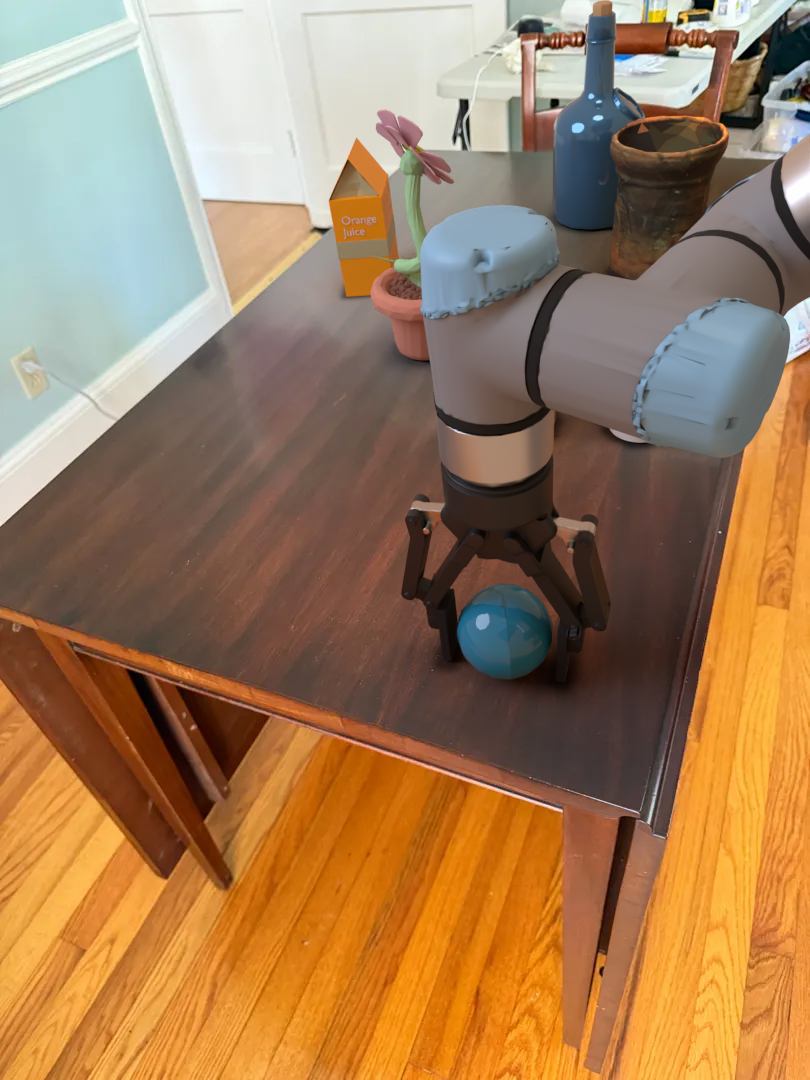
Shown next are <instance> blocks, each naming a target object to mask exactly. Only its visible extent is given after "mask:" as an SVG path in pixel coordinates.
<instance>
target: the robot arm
mask: <svg viewBox="0 0 810 1080" xmlns="http://www.w3.org/2000/svg"><path fill="white" fill-rule="evenodd" d="M560 254H561V252H560V248H559V245H558V235H557V230H556V228H555V225H554V223H553V222H552V221H551V220H550V219H549V218H548V217H546V216H545V215H543V214H539V213H538V212H537V211H535V210H534V209H533V208H530V207H524V206H519V205H511V204H493V205H483V206H478V207H473V208H469V209H465V210H462V211H459V212H456V213H454V214H451V215H449V216H447V217H446V218H445V219H444V220H442V221H441V222H439V223H437V224H435V225H434V226H433V227H432V228H431V229H430V230H429V231H428V233H427V235H426V237H425V238H424V241H423V243H422V246H421V252H420V263H421V286H422V302H421V306H420V309H421V313H422V316H423V320H424V326H425V333H426V339H427V346H428V352H429V358H430V360H429V365H430V371H431V378H432V385H433V386H432V387H433V392H432V393H433V400H434V401H433V402H434V414H435V415H434V416H435V424H436V435H437V436H436V437H437V444H438V445H437V447H438V456H439V459H440V472H441V480H442V491H443V497H444V502H431V500H430V498H429V496H427V495H426V494H423V493H418V494H416V495H415V496H414V498H413V500H412V502H411V504H410V507H409V509H408V511H407V513H406V515H405V517H404V522H405V525H406V528H407V532H408V535H409V542H408V548H407V553H406V559H405V566H404V573H403V578H402V583H401V584H402V585H401V591H400V595H401V597H402V599H405V600H407V601H413V600H415V599H417V600H419V601H421V602H422V605H423V606H424V607H425V611H426V617H427V618H426V619H427V624H428V626H429V627H430V629H434V630H438V632H439V641H440V648H441V654H442V660H443V661H447V662H452V661H453V658H454V655H455V653H456V650H457V647H458V644H459V642H458V638H457V627H458V620H459V618H458V612H457V611H458V610H457V603H456V594H455V588H451V587H452V586H453V585H454V583H455V581H456V580H457V578H458V577H459V576H460V574H461V573H462V571H463V570H464V569H465V568H467V566H468V565H469V564H470V562H471V561H472V560H473V558H474V557H475V555H476V557H477V559H481V560H500V561H503V562H505V563H509V564H516V565H518V566H519V567H520V569H521V571H522V572H523V574H524V575H525V576H526V577H527V578H532V580H533V581H534V583H535V584H536V585H537V587H538V588H539V590H540V591H541V593H542V595H543V596H544V597H545V598H546V600H547V602H548V603H549V604H550V606H551V607H552V609H553V610H554V612H555V613H556V614H557V616H558V618H559V621H558V622H559V623H558V626H557V630H556V654H555V655H556V656H555V657H556V658H555V661H556V662H555V682H559V683H564V684H565V683H566V678H567V674H568V670H569V665H570V661H571V653H572V654H581V653H582V651H583V647H584V641H585V636H586V629H588V628H591V629H592V630H594V631H595V632H604V631H606V630H607V628H608V623H609V618H610V612H611V607H612V601H611V598H610V597H611V596H610V593H609V590H608V587H607V583H606V578H605V575H604V570H603V567H602V563H601V559H600V556H599V552H598V548H597V544H596V541H595V539H596V534H597V529H598V525H599V518H598V517H597V516H596V515H593V514H590V513H587V514H584V515H582V516H581V518H580V520H576V519H572V518H571V519H570V518H566V517H561V515H560V514H559V512H558V510H557V509H556V507H555V505H554V455H553V451H554V447H555V446H554V445H555V424H554V410H555V411H556V412H558V413H562V414H564V415H565V414H566V415H568V416H570V417H574V418H577V419H580V420H582V421H586V422H588V423H592V424H595V425H598V426H601V427H603V428H607V429H609V428H610V429H613V430H616V431H619V432H622V433H625V434H628V435H631V436H634V437H637V438H640V439H643V440H645V442H644V443H646V444H651V445H653V446H655V447H657V448H660V447H664V448H667V449H668V448H674V449H679V450H682V451H685V452H691V453H695V454H698V455H703V456H706V457H710V458H714V459H724V458H725V459H727V458H729V457H730V458H731V457H732V456H736V455H737V454H739V453H740V452H742V451H743V450H744V449H746V447H747V446H749V444H750V443H751V442H752V441H753V439H754V438H755V436H756V435H757V434H758V432H759V430H760V429H761V426H762V424H763V421H764V419H765V416H766V414H767V413H768V412H769V410H770V408H771V406H772V404H773V401H774V399H775V396H776V394H777V391H778V389H779V386H780V383H781V380H782V377H783V374H784V371H785V368H786V363H787V359H788V356H789V350H790V343H791V329H790V326H789V323H788V321H787V319H786V318H785V316H786V315H787V314H788V312H789V311H791V310H792V309H793V308H795V307H796V306H797V305H799V304H801V303H802V302H803V301H805V300H807V299H809V298H810V133H808V134H807V135H806V136H804V137H803V138H802V139H800V140H799V141H798V142H796V143H795V144H794V145H793V146H792V147H790V148H789V149H788V151H787V152H786V153H784V154H783V155H782V156H780V157H779V158H777V159H775V160H774V161H773V162H771V163H769V164H767V166H766V167H764V168H762V170H760V171H759V172H756V173H754V174H752V175H750V176H748V177H747V178H745V179H742V180H741V181H739V182H737V183H736V184H735V185H733V186H732V187H730V188H729V189H728V190H727V191H725V192H724V193H723V194H722V195H720V196H719V198H717V199H716V200H715V201H713V202H712V204H711V205H709V207H707V210H706V212H705V214H704V216H703V217H702V218H701V219H700V220H699V221H698V222H697V223H696V224H695V225H694V226H693V227H692V228H691V229H690V230H689V231H688V232H687V233H686V234H685V235H684V236H683V237H682V238H681V239H680V240H679V241H678V242H676V243H675V244H673V245H672V246H671V247H670V248H669V249H668V250H667V251H666V252H665V253H664V254H663V255H662V256H661V257H660V258H659V259H658V260H657V261H656V262H655V263H654V264H653V265H652V266H651V267H650V268H649V269H648V270H646V271H645V272H644V273H643V274H642V275H641V276H640V277H639V278H638V279H637V280H628V279H624V278H619V277H614V276H609V274H604V273H598V272H592V271H587V270H583V269H581V268H577V267H573V266H568V265H564V264H561V263H560V261H561V258H560ZM610 429H609V430H610ZM439 522H442V524H443V525H444V526H445V527H446V528H447V529H448V531H450V533H451V534H453V535H454V537H455V538H456V539H457V540H456V542H454V545H453V546H452V547H451V549H450V551H449V552H448V554H447V555H446V556H445V558H444V560H443V561H442V563H441V564H440V566H439V567H438V569H437V571H435V572H433V575H432V577H431V579H430V578H428V577H424V575H425V571H426V565H427V560H428V556H429V550H430V545H431V540H432V535H433V531H435V530H436V529H437V528H438V525H439ZM555 537H559V538H560V539H561V540H562V541H563V545H564V547H565V548H566V550H565V551H566V553H568V554H570V555H572V567H573V571H574V573H575V577H576V580H577V581H576V582H577V585H578V587H579V590H578V588H577V586H576V585H575V583H574V582H573V580H572V578H571V577H570V576H569V574H568V573H567V571H566V570H565V568H564V567H563V565H562V564H561V562H560V561H559V559H558V557H557V555H556V554H555V553H554V551H553V549H552V543H551V541H552V540H553V539H554V538H555Z"/></svg>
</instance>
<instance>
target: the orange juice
mask: <svg viewBox="0 0 810 1080" xmlns="http://www.w3.org/2000/svg"><path fill="white" fill-rule="evenodd" d="M389 176H390V175H389V173H387V172H386V171H385V170H384V168H383V167H382V166H381V164H379V162H378V161H377V159H375V158H374V156H373V155H372V154H371V152H370V151H369V150H368V149H367V148H366V147H365V146H364V145H363V143H362V142H361V141H360V140H359V138H358V137H355V140H354V142H353V144H352V146H351V149H350V151H349V153H348V155H347V157H346V160H345V162H344V164H343V166H342V168H341V171H340V173H339V175H338V177H337V180H336V182H335V184H334V187H333V189H332V191H331V193H330V197H329V199H328V206H329V210H330V216H331V221H332V222H331V223H332V227H333V233H334V238H335V246H336V251H337V255H338V260H339V265H340V268H341V269H340V270H341V275H342V280H343V281H342V282H343V286H344V292H345V297H346V298H351V297H352V298H353V297H365V296H371V289H372V285H373V282H374V281H375V279H376V278H377V277H379V276H380V275H381V274H382V273H383V272H384V271H386V270H387V269H390V268H392V267H394V263H395V262H389V261H385V260H382V259H379V258H376V257H373V256H377V257H381V258H385V259H389V260H394V261H396V260H397V259H400V255H399V248H398V241H397V232H396V231H397V230H396V222H395V216H394V209H393V202H392V195H391V187H390V180H389Z"/></svg>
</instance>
